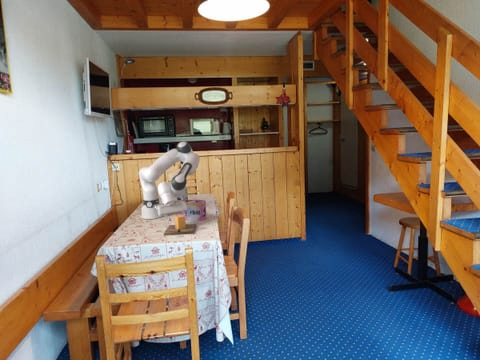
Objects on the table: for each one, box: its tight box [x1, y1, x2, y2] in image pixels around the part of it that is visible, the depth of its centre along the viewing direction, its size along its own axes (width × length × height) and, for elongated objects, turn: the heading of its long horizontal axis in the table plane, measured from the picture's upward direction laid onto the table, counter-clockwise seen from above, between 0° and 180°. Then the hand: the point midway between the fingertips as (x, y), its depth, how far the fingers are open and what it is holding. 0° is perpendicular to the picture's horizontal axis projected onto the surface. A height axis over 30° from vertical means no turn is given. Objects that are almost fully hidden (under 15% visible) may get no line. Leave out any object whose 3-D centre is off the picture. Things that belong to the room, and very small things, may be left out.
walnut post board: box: [163, 223, 197, 236], centre depth 208 cm, size 18×18×7 cm
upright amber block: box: [173, 215, 186, 229], centre depth 207 cm, size 5×5×8 cm
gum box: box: [174, 199, 207, 221], centre depth 237 cm, size 24×8×14 cm, turn 68°
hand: (176, 219), depth 210 cm, fingers open, 8 cm apart
